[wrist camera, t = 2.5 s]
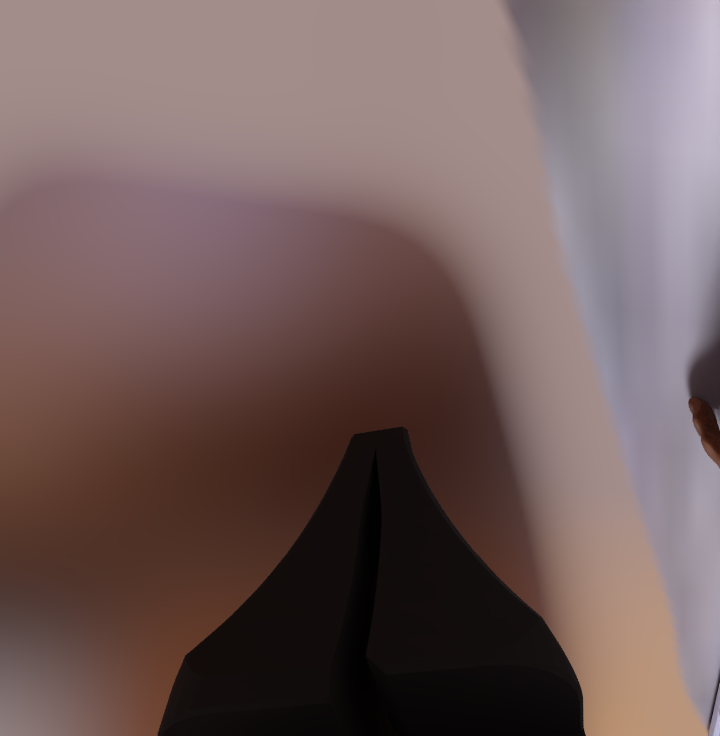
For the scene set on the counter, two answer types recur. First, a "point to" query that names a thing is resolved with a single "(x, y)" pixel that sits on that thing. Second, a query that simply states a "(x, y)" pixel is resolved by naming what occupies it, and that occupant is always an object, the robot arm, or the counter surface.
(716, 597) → the counter surface
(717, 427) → the pottery mug
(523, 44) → the counter surface
